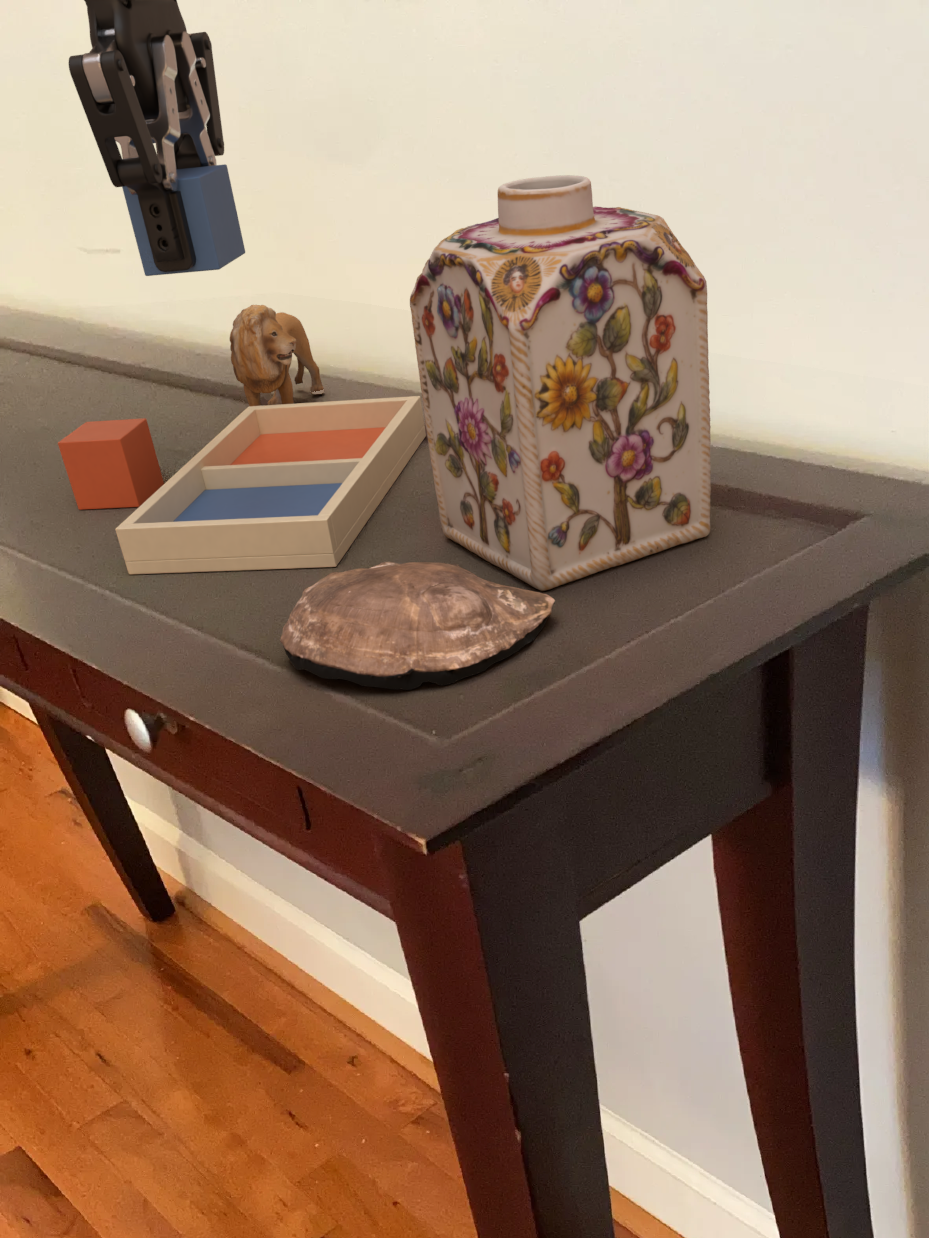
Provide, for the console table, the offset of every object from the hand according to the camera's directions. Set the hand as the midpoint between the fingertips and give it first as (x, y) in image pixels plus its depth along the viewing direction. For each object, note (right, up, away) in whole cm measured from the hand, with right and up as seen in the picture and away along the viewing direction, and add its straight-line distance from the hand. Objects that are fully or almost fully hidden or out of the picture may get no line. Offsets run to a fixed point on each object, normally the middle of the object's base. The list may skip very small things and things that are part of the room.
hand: (193, 258), depth 72 cm
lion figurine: (+1, +2, +27) cm, 28 cm away
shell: (+13, -24, -8) cm, 28 cm away
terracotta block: (-9, -8, +15) cm, 20 cm away
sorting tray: (+4, -10, +12) cm, 15 cm away
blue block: (0, 0, 0) cm, 0 cm away
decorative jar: (+22, -16, +1) cm, 27 cm away
